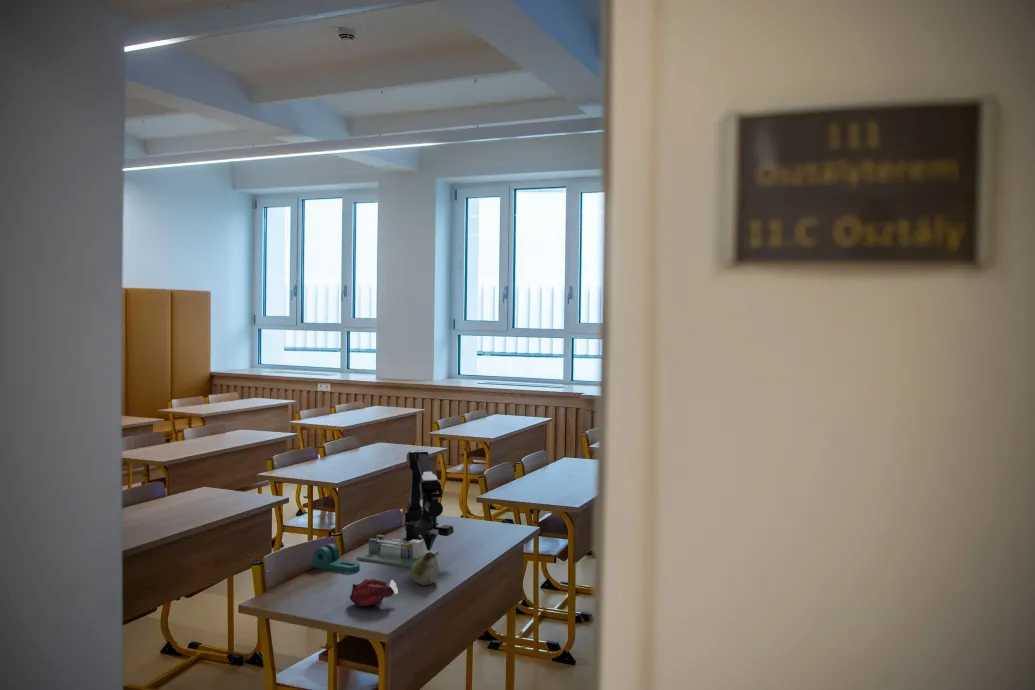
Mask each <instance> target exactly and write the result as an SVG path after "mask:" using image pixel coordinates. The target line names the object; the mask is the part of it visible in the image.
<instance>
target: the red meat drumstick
mask: <svg viewBox="0 0 1035 690" xmlns="http://www.w3.org/2000/svg"><path fill="white" fill-rule="evenodd" d="M351 586H352V587H351V588H352V589H351V593H350V595H349V599H350V601H351V602H352V603H354V604H355V606H356V607H357V606H360V607H369V606H373V607H376V606H378V605H380V603H382V602H383V600H384V598H385V599H386V598H389V597H392V596H393V595H396V594H397V595H398V593H399V589H398V587H397V583H396V582H395V580H394V579H391V580H390V582H389V586H388V584H387V582H386V581H384V580H379V579H376V578H375V579H374V578H370V579H368V578H365V579H364V580H363V581H362V582H361V581H360V583H358V584H355V583H353V584H352V585H351Z"/></svg>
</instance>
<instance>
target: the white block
mask: <svg viewBox="0 0 1035 690" xmlns="http://www.w3.org/2000/svg"><path fill="white" fill-rule="evenodd" d="M408 544H413V546H412V558H417V559H418V558H419V557H421V556H423V555H424V549H425V547H424V546H425V542H424V539H420V540H415V539H413V540H411V541H409V542H408Z"/></svg>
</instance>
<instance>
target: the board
mask: <svg viewBox="0 0 1035 690" xmlns="http://www.w3.org/2000/svg"><path fill="white" fill-rule="evenodd" d="M439 551H440V550H435V549H431V550H430V551H429V550H427V548H424V554H425V553H429V552H431V553H433V554H434V555H435V556H437V555H439V554H440V552H439ZM380 552H381V550H379V549H377V553H375V554H373V553H369V550H366V551H365V552H364V553H362V554H359V555H357V556H355V557H356V558H355V559H360V560H359V561H363V560H366V561H365V562H370V561H372V562H371V563H376V562H377V564H384V565H390V564H391V566H398V567H403V568H411V569H412V567H413V565H414V564H415V563H416V562H417V561H418V560H419V559H420V558H421V557H422V556H421V557H419V558H418V559H417V558H412V553H411V552H410V558H409V559H403V557H402V558H395V557H388V556H381V555H380ZM438 553H439V554H438ZM436 554H437V555H436Z"/></svg>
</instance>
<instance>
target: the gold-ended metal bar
mask: <svg viewBox="0 0 1035 690" xmlns="http://www.w3.org/2000/svg"><path fill="white" fill-rule="evenodd" d="M377 544H386V545H394V546H401V547H410V548H412V546H413V544H408V543H405V542H397V541H391V540H388V539H384V540H381V539H380V538H377Z"/></svg>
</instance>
